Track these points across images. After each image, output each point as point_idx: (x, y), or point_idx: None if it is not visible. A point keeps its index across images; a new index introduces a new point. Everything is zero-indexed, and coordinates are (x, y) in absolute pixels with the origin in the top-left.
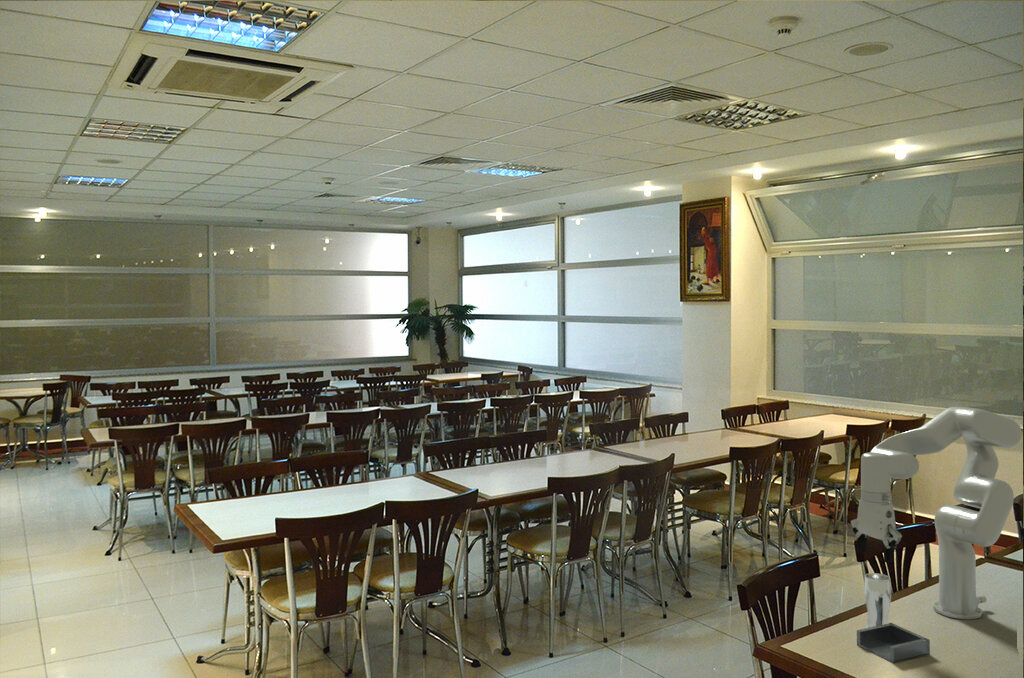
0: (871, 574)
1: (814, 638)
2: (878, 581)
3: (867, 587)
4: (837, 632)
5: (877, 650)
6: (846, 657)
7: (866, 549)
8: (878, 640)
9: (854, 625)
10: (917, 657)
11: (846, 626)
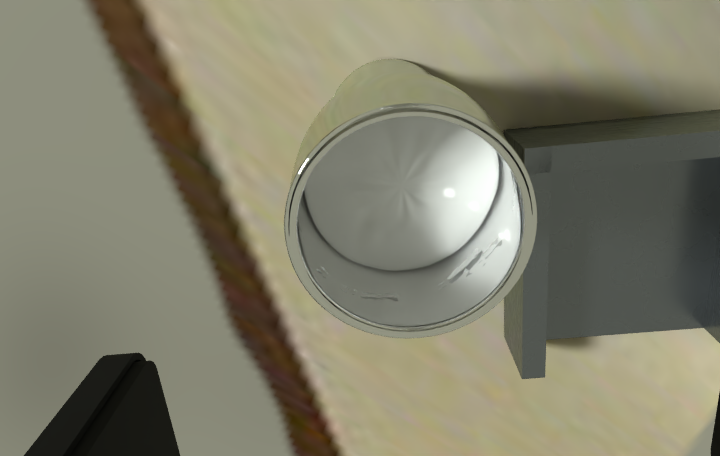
0: (296, 211)
1: (379, 441)
2: (503, 292)
3: (401, 298)
4: None
5: (612, 317)
6: (579, 439)
7: (139, 390)
8: None
9: None
10: None
11: None
